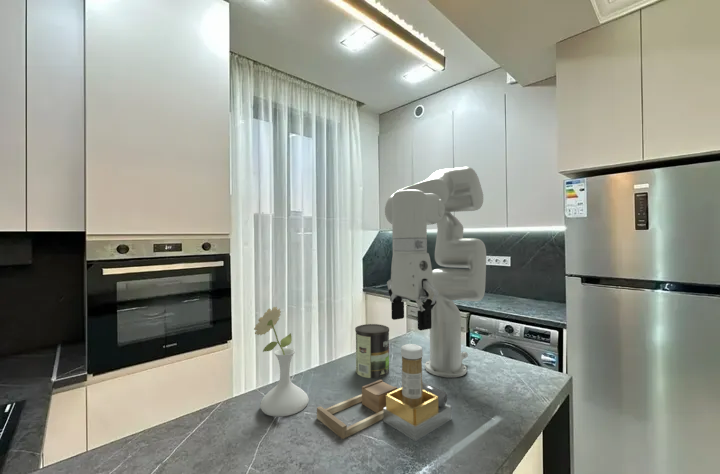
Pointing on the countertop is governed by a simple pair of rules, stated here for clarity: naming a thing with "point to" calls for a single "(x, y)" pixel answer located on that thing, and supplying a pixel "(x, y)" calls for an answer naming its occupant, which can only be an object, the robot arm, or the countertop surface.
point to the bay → (339, 426)
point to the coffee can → (372, 350)
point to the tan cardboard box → (376, 395)
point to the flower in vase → (285, 393)
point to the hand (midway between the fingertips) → (410, 323)
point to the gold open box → (417, 412)
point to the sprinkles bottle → (412, 374)
